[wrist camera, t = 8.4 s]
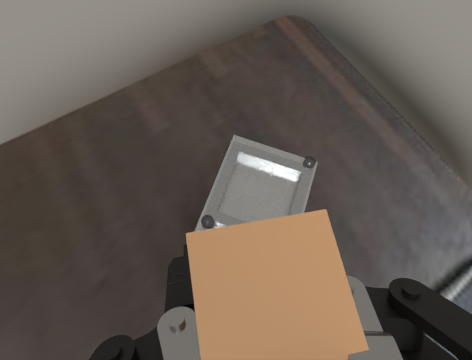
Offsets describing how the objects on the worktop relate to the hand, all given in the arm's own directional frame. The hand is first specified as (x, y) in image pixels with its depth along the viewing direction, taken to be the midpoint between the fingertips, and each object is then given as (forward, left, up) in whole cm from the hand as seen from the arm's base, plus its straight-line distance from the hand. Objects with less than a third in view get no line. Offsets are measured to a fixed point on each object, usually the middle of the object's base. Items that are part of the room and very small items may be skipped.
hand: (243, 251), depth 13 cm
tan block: (-2, -1, -4) cm, 5 cm away
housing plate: (+8, 0, -16) cm, 18 cm away
